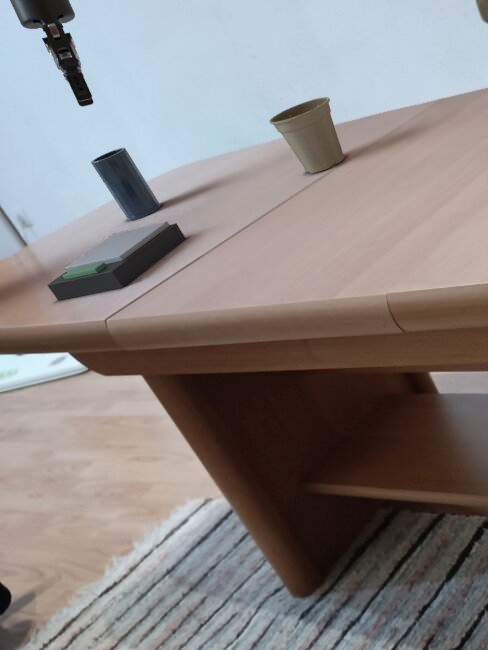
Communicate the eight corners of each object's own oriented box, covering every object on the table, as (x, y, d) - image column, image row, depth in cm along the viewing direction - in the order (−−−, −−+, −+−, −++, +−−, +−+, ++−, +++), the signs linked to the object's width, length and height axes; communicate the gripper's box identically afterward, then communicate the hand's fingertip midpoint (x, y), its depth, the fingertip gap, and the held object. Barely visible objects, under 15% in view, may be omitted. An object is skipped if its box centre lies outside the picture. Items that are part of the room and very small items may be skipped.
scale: (58, 300, 117) (43, 280, 115) (124, 252, 127) (111, 233, 126) (123, 287, 113) (108, 266, 111) (186, 238, 123) (173, 218, 121)
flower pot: (351, 147, 137) (325, 92, 133) (358, 159, 130) (331, 101, 125) (295, 170, 136) (267, 116, 131) (299, 184, 129) (270, 126, 124)
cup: (121, 223, 144) (83, 165, 138) (142, 208, 148) (106, 151, 142) (146, 217, 142) (109, 158, 136) (167, 202, 146) (131, 144, 140)
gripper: (12, 3, 133) (63, 113, 139) (1, -17, 121) (57, 104, 127) (64, -7, 136) (112, 101, 142) (58, -28, 124) (111, 91, 130)
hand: (86, 102), depth 135 cm, fingers open, 8 cm apart
